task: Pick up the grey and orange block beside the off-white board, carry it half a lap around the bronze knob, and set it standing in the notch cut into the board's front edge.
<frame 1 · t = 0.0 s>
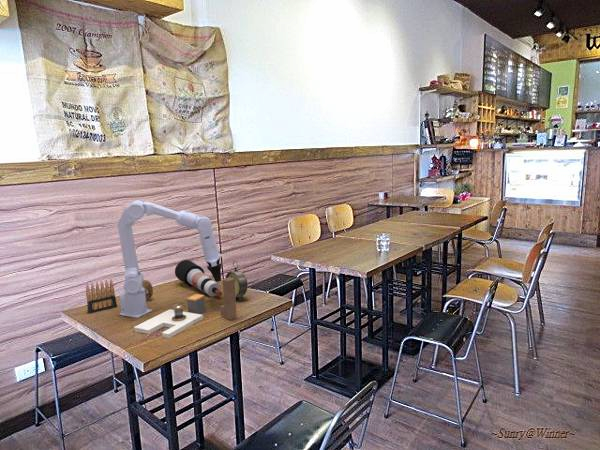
hand: (217, 278, 174), 11 cm above the table, tool pointing down, fingers open, 7 cm apart
brown oval slab: (140, 298, 187), on the table
bronze knob: (179, 322, 158), resting on notched board
wooden block: (228, 317, 162), on the table
grey and orange block: (197, 312, 167), on the table
ammunition clip: (102, 310, 174), on the table
alarm clock: (238, 299, 181), on the table
cable: (202, 290, 194), on the table
notched board: (169, 324, 156), on the table
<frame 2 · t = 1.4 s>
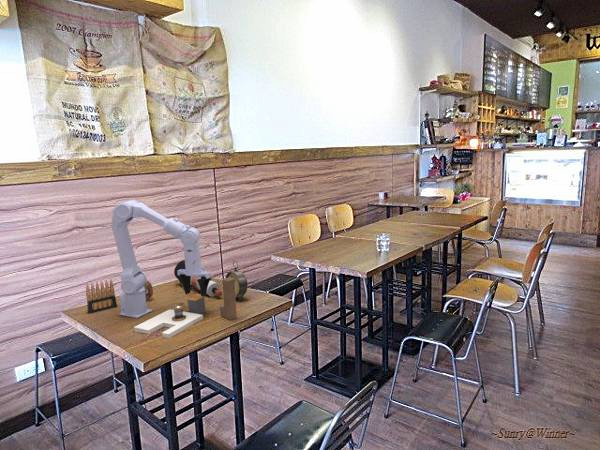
hand: (195, 294, 166), 7 cm above the table, tool pointing down, fingers open, 7 cm apart
nothing on the table moved.
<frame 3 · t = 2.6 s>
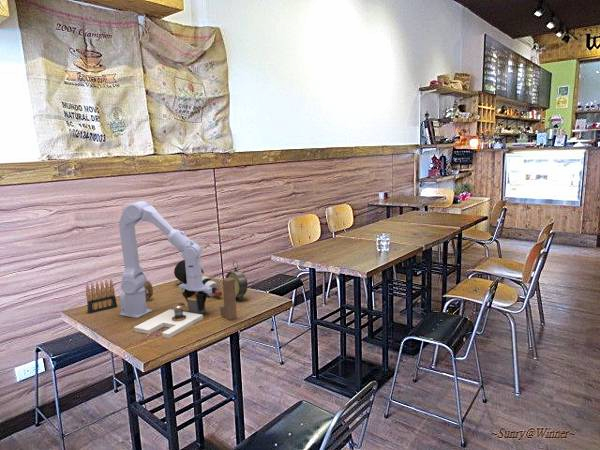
hand: (196, 309, 167), 1 cm above the table, tool pointing down, fingers closed on grey and orange block, 4 cm apart
grey and orange block: (197, 312, 167), on the table, touching gripper
everything else where it was.
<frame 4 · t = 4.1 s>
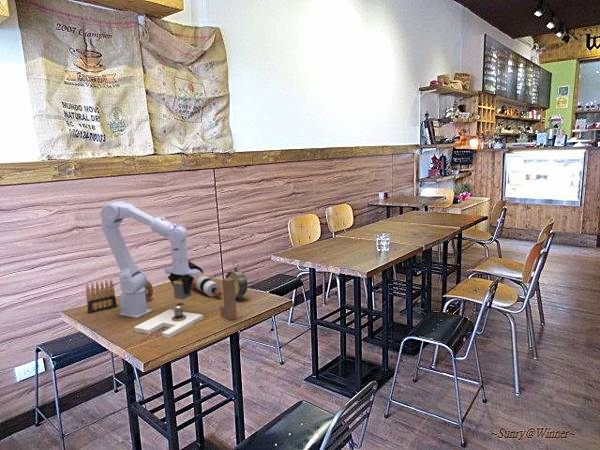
hand: (182, 293, 165), 8 cm above the table, tool pointing down, fingers closed on grey and orange block, 4 cm apart
grey and orange block: (183, 296, 165), point 7 cm above the table, touching gripper
everything else where it was.
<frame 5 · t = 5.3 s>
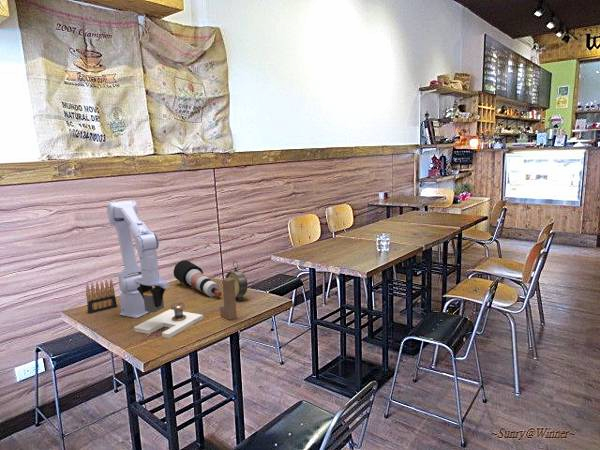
hand: (153, 305, 152), 8 cm above the table, tool pointing down, fingers closed on grey and orange block, 4 cm apart
grey and orange block: (154, 309, 153), point 7 cm above the table, touching gripper
everything else where it was.
when the fingers open (3 cm above the table, at t = 7.1 s): grey and orange block stays where it is, point 1 cm above the table.
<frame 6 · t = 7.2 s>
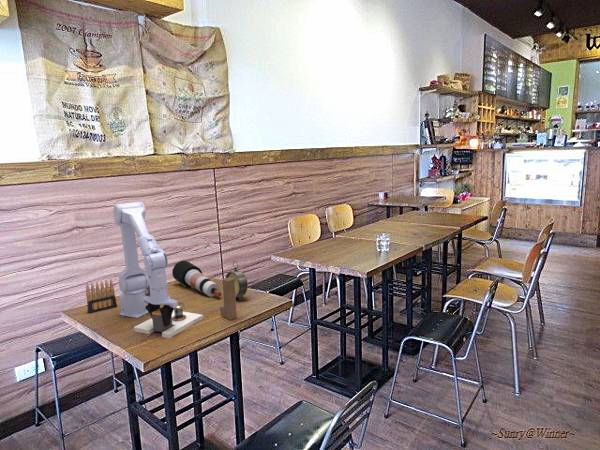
hand: (162, 324, 150), 3 cm above the table, tool pointing down, fingers open, 4 cm apart
grey and orange block: (163, 328, 151), point 1 cm above the table
everything else where it was.
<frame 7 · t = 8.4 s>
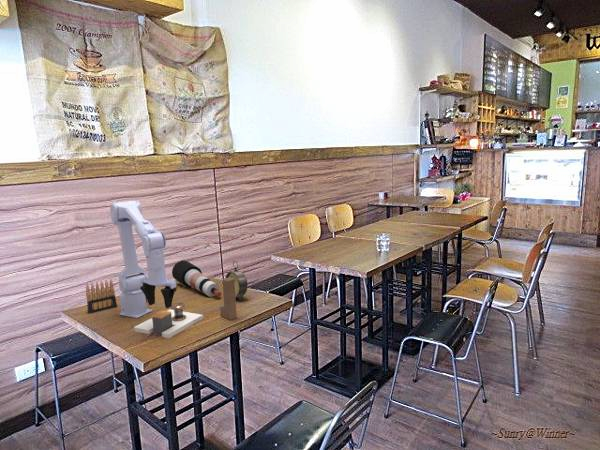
hand: (160, 305, 149), 9 cm above the table, tool pointing down, fingers open, 7 cm apart
grey and orange block: (163, 331, 151), on the table
everything else where it was.
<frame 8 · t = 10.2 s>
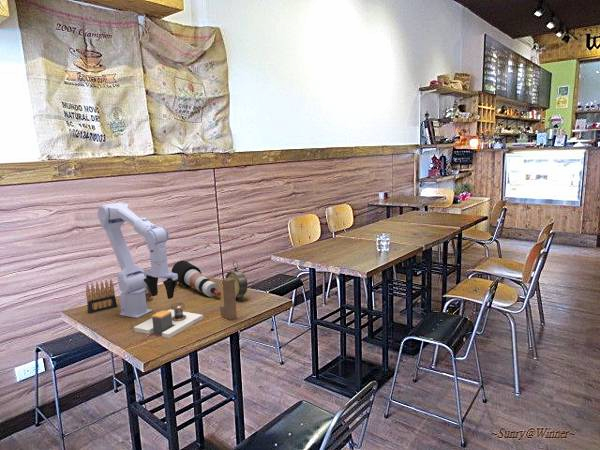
hand: (162, 296, 158), 9 cm above the table, tool pointing down, fingers open, 7 cm apart
at the end: grey and orange block 0.3 cm from the target spot, on the table; grey and orange block tilted 0°; the gripper is holding nothing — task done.
